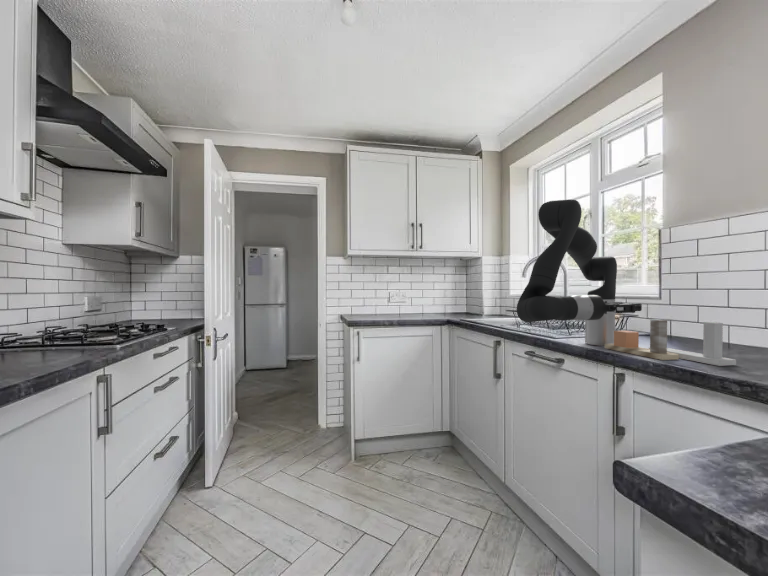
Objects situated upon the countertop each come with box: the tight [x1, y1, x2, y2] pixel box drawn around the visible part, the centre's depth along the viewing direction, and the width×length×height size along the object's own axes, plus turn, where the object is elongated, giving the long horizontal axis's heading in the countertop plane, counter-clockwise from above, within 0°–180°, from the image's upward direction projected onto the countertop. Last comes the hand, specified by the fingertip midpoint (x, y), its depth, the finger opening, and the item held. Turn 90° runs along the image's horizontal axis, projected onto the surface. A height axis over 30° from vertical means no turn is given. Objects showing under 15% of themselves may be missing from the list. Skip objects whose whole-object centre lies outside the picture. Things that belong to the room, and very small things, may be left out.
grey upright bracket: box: [648, 321, 737, 367], centre depth 118 cm, size 22×6×12 cm, turn 13°
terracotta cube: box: [614, 330, 640, 348], centre depth 131 cm, size 5×5×5 cm
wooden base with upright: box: [604, 318, 680, 361], centre depth 126 cm, size 22×6×12 cm, turn 13°
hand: (628, 306), depth 119 cm, fingers open, 8 cm apart
